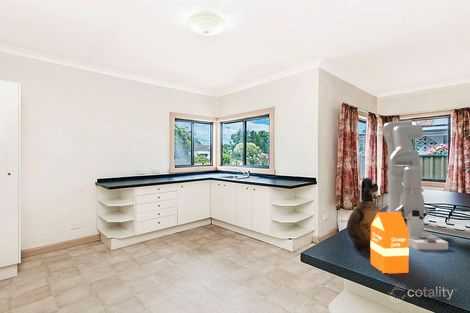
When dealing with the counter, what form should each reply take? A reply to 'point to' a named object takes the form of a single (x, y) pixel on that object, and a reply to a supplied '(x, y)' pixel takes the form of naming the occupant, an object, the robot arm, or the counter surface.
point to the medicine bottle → (414, 220)
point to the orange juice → (389, 243)
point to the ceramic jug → (363, 217)
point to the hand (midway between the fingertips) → (412, 225)
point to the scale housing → (428, 243)
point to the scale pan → (421, 234)
